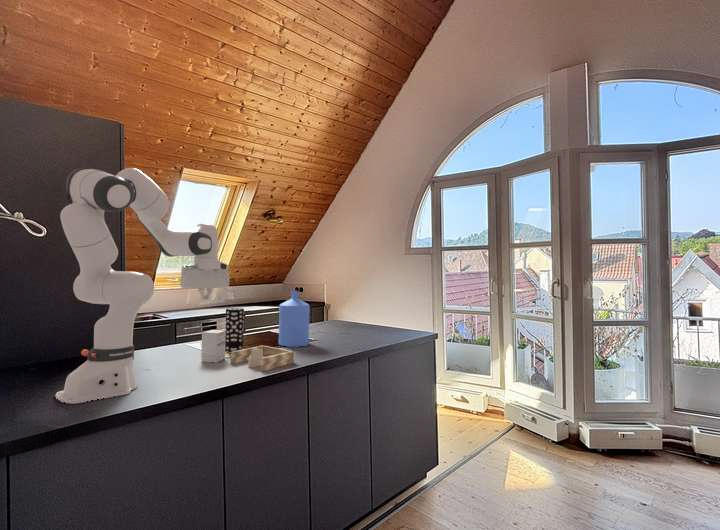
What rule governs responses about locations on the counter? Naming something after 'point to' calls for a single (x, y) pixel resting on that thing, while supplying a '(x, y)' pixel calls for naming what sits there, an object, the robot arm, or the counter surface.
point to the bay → (265, 357)
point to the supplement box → (213, 346)
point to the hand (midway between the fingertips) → (205, 299)
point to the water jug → (294, 322)
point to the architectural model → (255, 357)
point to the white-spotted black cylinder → (234, 329)
